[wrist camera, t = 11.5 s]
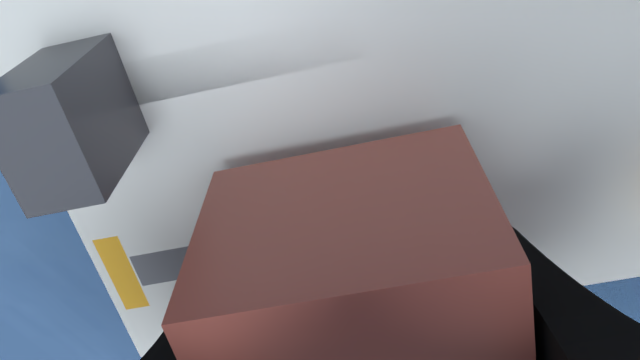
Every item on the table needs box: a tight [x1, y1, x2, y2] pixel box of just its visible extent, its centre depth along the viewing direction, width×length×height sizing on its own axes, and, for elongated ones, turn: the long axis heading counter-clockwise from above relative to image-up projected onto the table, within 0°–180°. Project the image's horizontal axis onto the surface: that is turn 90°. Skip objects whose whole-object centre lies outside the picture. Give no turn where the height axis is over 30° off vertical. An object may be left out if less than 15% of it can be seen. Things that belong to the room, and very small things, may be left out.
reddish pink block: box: [161, 124, 536, 360], centre depth 12 cm, size 6×6×5 cm
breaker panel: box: [0, 0, 640, 357], centre depth 13 cm, size 18×11×4 cm, turn 102°
